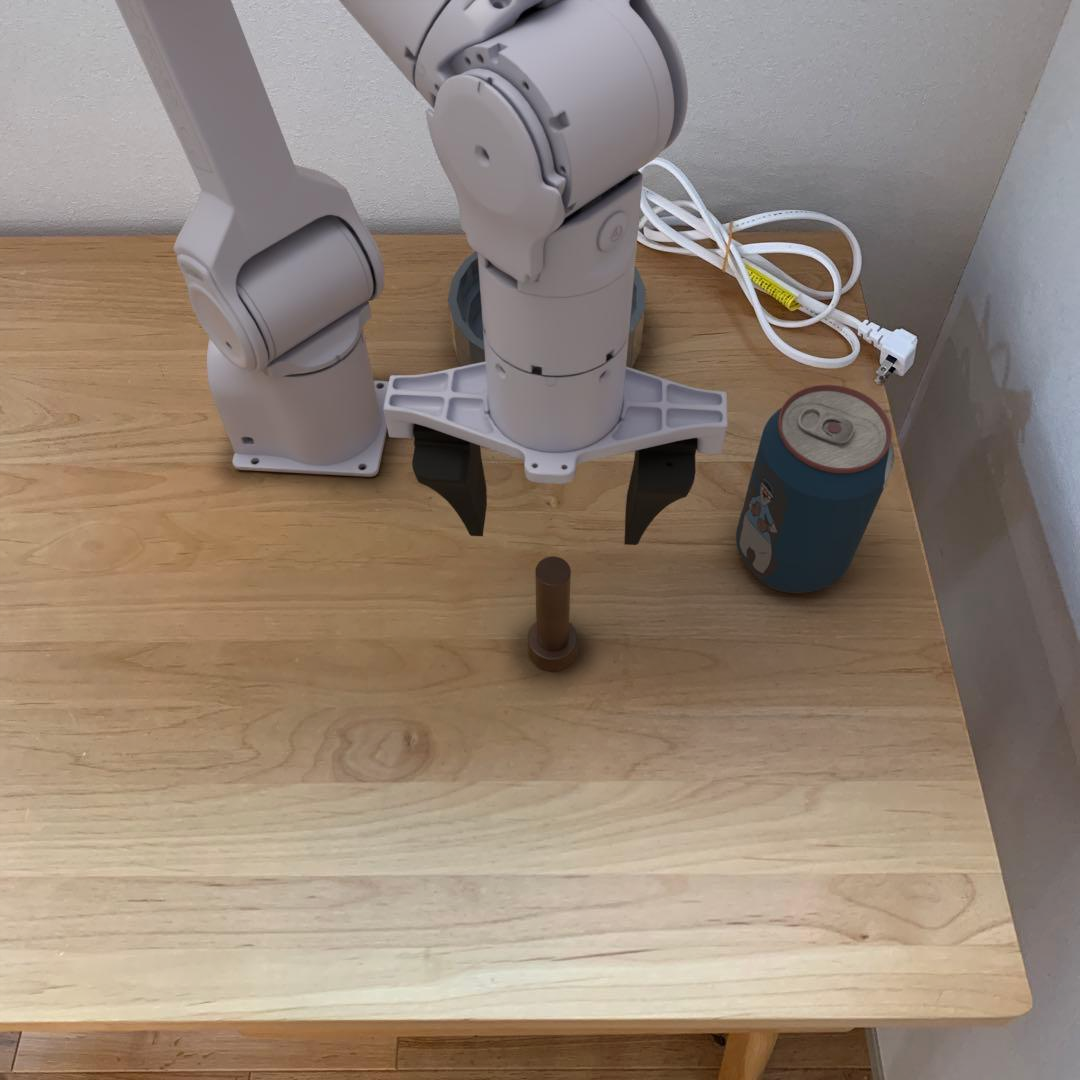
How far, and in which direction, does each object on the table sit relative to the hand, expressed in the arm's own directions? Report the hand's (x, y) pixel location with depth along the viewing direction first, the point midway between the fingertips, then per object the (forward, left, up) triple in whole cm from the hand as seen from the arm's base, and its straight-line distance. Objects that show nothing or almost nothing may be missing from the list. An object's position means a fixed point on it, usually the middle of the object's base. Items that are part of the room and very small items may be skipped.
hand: (554, 524), depth 51 cm
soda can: (+14, +6, -11) cm, 19 cm away
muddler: (0, -2, -10) cm, 11 cm away
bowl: (-2, +23, -10) cm, 25 cm away
